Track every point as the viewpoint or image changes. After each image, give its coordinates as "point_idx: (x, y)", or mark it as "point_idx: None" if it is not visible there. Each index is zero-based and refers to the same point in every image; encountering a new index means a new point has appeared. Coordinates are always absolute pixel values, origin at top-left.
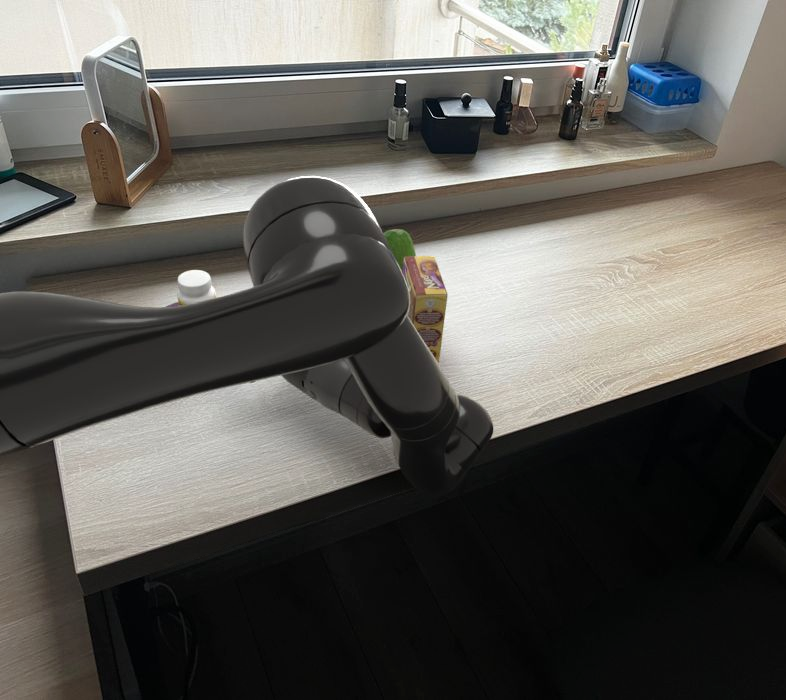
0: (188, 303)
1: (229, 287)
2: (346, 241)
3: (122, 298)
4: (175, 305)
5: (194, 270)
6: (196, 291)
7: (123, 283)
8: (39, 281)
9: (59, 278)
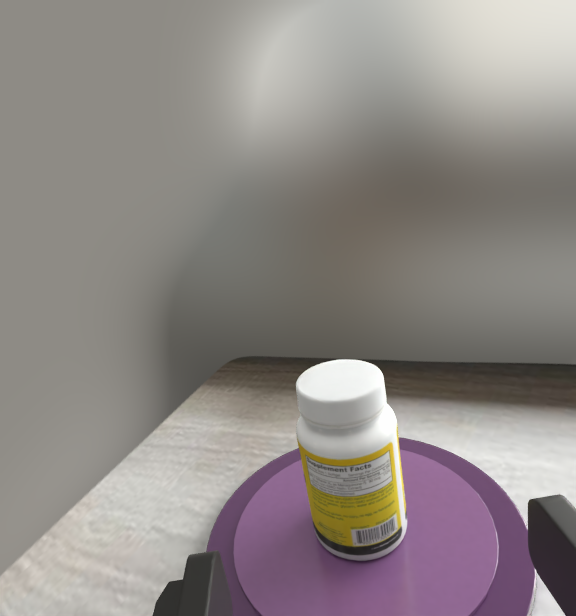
0: (304, 445)
1: (486, 434)
2: None
3: (294, 404)
4: None
5: (357, 361)
6: (323, 416)
7: None
8: (235, 359)
9: (256, 359)
